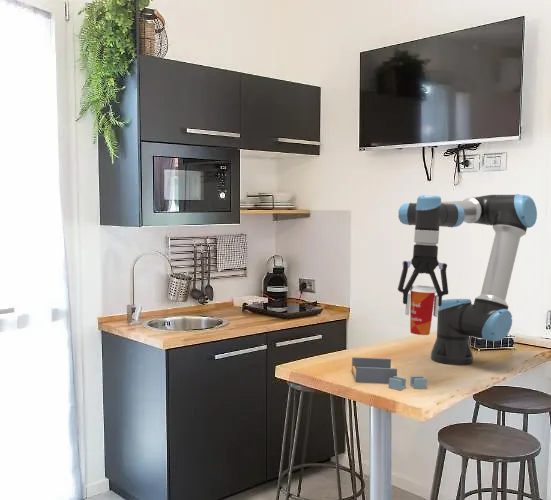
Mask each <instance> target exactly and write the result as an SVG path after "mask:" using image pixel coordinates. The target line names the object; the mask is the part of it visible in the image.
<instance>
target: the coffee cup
mask: <svg viewBox="0 0 551 500" xmlns="http://www.w3.org/2000/svg"><path fill="white" fill-rule="evenodd" d="M409 292H410V308H409V316H410V318H409V320H410V323H409V325H410V331H409V332H410V333H411V334H413V335H418V336H428V335H430V334H431V333H430V332H431V328H432V327H431V326H432V320H433V312H434V297H435V295H436V294H437V292H436V290H435V287H434V286H430V285H429V286H428V285H419V284H418V285H415V284H414V285H412V287H411V289H410V290H409Z"/></svg>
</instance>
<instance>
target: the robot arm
mask: <svg viewBox="0 0 551 500" xmlns="http://www.w3.org/2000/svg"><path fill="white" fill-rule="evenodd" d="M537 211H538V210H537V206H536V203H535V201H534V199H533V198H532V197H531V196H530V195H526V194H519V193H517V194H516V193H515V194H487V195H480V196H475V197H467V198H465V199H463V200H454V201H453V200H452V201H442V197H441V196H439V195H426V194H425V195H424V194H422V195H418V196H417V198H416V202H415V203H414V202H408V203H407V202H406V203H403V204H401V205H400V207H399V209H398V213H397V214H398V220H399V221H400V223H402V224H403V225H406V226H407V225H408V226H415V227H414V238H413V242H414V243H415V244H414V245H413V251H412V253H413V254H412V258H411V260H407V261H406V260H403V261H402V271H401V275H400V279H399V283H398V286H397V291H398V292H400V293H402V304H403V305H405V310H404V311H405V315H406V316H410V306H411V293H409V292H410V289H411V287H412V286H413V284H414V283H415V281H416V279H417V277H418V276H419V274H426V275H428V274H429V277H430V279H431V281H432V284H433V287H435V291H436V294H435V297H434V304H433V312H432V317H435V318H437V327H436V339H435V342H434V344H433V347H432V349H431V351H430V358H431V360H432V361H434V362H437V363H443V364H447V365H456V366H457V365H458V366H459V365H461V366H462V365H464V366H465V365H469V364H472V363H473V361H474V359H473V358H474V355H473V351H472V347H471V345H470V344H471V343H470V337H472V338H477V339H481V340H482V339H483V340H485V341H492V342H499V341H501V340H503V339H504V338H506V337H507V335H509V333H510V331H511V328H512V326H513V325H512V324H513V319H512V318H513V315H512V312H511V311H509V305H508V303H507V302H506V299H507V296H508V291H509V287H510V283H511V282H510V281H511V278H512V273H513V269H514V266H515V262H516V257H517V253H518V249H519V245H520V244H519V243H520V241H521V238H522V237H523V236H525V235H526V234H527V230H528V229H529V228H532V227H534V226H535V224H536V223H537V219H538V218H537V217H538V212H537ZM463 223H466V224H478V225H485V226H492V229H493V231H494V232H495V235H494V238H493V242H492V246H491V250H490V254H489V258H488V262H487V267H486V271H485V275H484V278H483V283H482V286H481V292H480V294H479V295H478V296H476V297H475V298H474V302H473V303H472V300H471V299H470V298H450V299H448V298H447V299H443V297H444V296H447V295H448V294H449V286H448V285H449V284H448V278H447V267H448V264H447V263H445V262H439V260H438V255H439V252H438V251H439V246H438V245H437V244H439V236H440V227H443V228H445V227H446V228H457V227H459V226H461V225H462V224H463ZM411 266H412V267H413V268H414V269H413V272H412V274H411V275H410V278H409V280H408V281H407V283H406V285H405V282H406V279H407V275H408V270H409V268H410V267H411ZM437 268H438V269H439V270H440V280H441V287H440V284H439V281H438V278H437V276H436V273H435V270H436V269H437ZM404 286H405V287H404ZM441 288H442V289H441Z"/></svg>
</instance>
